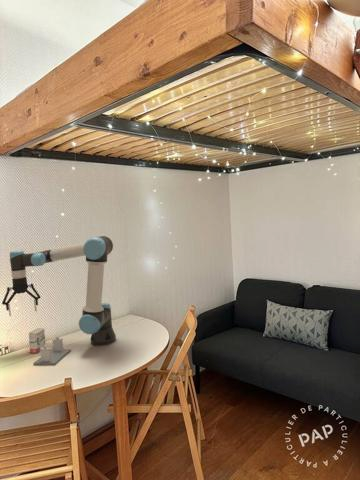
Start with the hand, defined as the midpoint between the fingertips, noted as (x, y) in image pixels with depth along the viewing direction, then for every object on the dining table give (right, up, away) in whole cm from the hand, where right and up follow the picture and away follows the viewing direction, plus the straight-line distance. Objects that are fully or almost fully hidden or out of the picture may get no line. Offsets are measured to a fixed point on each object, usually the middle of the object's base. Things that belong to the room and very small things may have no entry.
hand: (23, 313), depth 193 cm
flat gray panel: (+22, -22, -12) cm, 33 cm away
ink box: (+9, -22, +1) cm, 24 cm away
